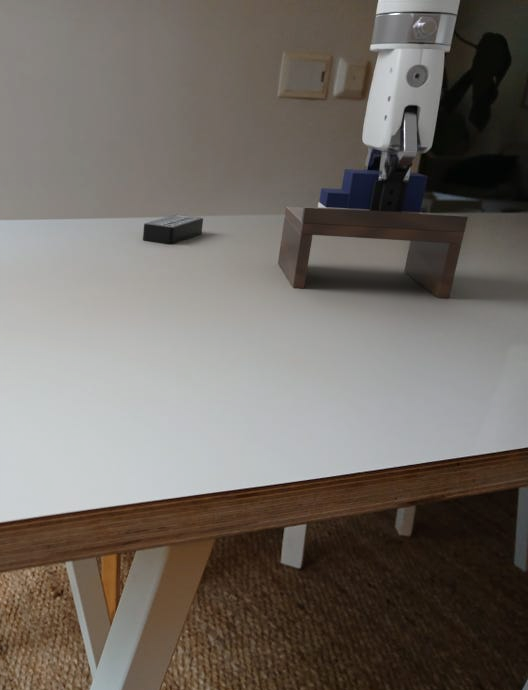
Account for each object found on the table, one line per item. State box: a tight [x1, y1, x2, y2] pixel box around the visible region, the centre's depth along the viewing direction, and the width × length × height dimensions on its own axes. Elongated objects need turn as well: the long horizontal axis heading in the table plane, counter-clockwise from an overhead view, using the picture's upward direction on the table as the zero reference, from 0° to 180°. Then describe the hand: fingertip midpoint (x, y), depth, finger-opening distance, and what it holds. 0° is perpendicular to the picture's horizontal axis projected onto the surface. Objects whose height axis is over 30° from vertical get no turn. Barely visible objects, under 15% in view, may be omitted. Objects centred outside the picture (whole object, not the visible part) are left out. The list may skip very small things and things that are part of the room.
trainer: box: [317, 168, 429, 213], centre depth 81 cm, size 10×4×5 cm, turn 81°
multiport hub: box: [142, 214, 204, 245], centre depth 105 cm, size 4×11×2 cm, turn 146°
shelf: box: [277, 206, 469, 299], centre depth 83 cm, size 16×12×9 cm
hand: (377, 214), depth 82 cm, fingers closed on trainer, 4 cm apart
